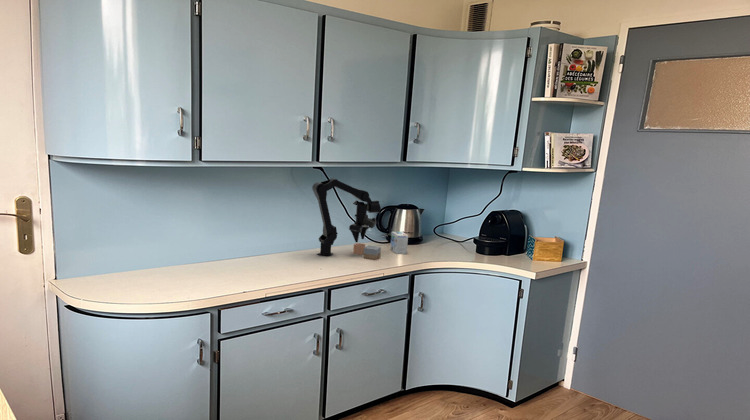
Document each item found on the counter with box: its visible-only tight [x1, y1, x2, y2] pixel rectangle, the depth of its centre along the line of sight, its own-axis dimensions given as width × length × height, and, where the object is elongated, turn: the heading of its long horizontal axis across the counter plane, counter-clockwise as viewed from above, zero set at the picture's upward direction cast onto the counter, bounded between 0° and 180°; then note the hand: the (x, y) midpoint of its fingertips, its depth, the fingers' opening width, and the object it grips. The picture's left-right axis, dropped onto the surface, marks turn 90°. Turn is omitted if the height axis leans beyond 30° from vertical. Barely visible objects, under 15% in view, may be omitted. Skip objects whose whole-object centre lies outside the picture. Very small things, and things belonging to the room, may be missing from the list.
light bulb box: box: [389, 231, 409, 255], centre depth 285 cm, size 11×7×11 cm, turn 17°
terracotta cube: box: [352, 242, 366, 255], centre depth 277 cm, size 5×5×5 cm
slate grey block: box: [363, 245, 382, 255], centre depth 268 cm, size 7×7×3 cm
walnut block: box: [363, 252, 382, 261], centre depth 268 cm, size 7×7×3 cm
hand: (359, 240), depth 276 cm, fingers open, 9 cm apart
